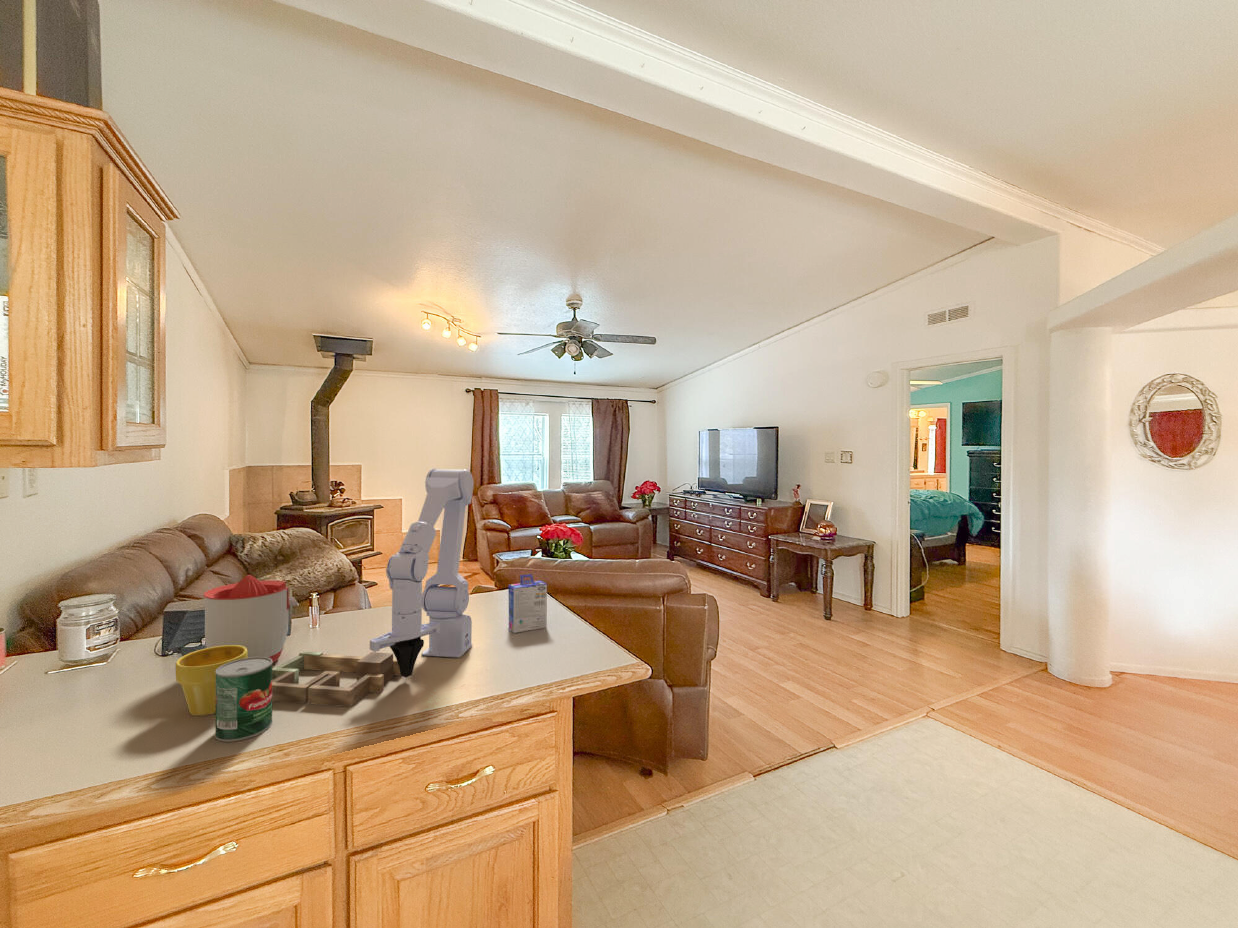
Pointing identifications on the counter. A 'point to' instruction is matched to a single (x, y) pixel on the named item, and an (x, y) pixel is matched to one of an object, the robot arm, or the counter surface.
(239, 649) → the plant pot
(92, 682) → the counter surface
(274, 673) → the trap lane
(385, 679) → the walnut block
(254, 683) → the canned tomato
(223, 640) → the citrus juicer
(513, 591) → the ink cartridge box
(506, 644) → the counter surface
